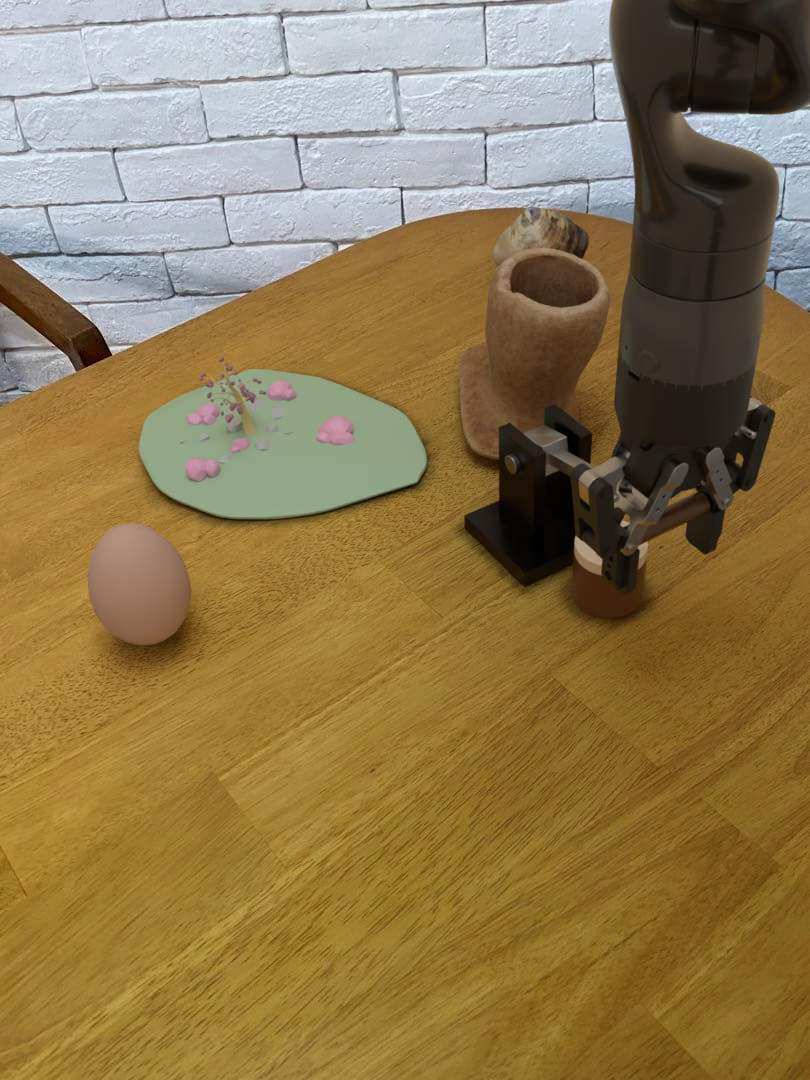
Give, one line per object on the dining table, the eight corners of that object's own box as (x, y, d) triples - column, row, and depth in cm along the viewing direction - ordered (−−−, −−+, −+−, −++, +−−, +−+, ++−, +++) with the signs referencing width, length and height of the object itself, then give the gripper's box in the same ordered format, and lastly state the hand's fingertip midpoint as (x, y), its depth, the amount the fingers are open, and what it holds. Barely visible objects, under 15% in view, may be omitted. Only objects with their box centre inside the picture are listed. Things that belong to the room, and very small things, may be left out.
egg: (111, 605, 83) (78, 503, 77) (203, 595, 83) (178, 493, 77) (100, 674, 78) (64, 570, 72) (199, 663, 78) (171, 559, 72)
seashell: (495, 297, 114) (494, 223, 108) (492, 269, 118) (491, 197, 113) (590, 292, 113) (594, 217, 108) (584, 265, 117) (587, 192, 112)
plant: (442, 379, 103) (438, 290, 97) (417, 526, 88) (411, 432, 82) (177, 375, 106) (158, 289, 100) (109, 517, 91) (81, 425, 85)
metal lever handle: (711, 522, 72) (710, 489, 71) (637, 558, 70) (635, 525, 69) (568, 443, 84) (565, 414, 82) (500, 472, 82) (497, 443, 80)
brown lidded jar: (657, 600, 80) (663, 547, 77) (601, 628, 78) (605, 576, 75) (612, 561, 83) (617, 509, 80) (557, 587, 82) (559, 535, 78)
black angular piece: (622, 540, 85) (631, 435, 79) (524, 587, 82) (526, 481, 75) (558, 486, 90) (562, 383, 84) (464, 528, 87) (460, 424, 81)
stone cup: (607, 470, 92) (619, 306, 82) (460, 474, 92) (455, 312, 82) (589, 368, 103) (598, 213, 93) (459, 372, 104) (454, 219, 94)
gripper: (738, 277, 67) (705, 495, 78) (541, 354, 62) (535, 576, 73) (834, 331, 62) (784, 555, 73) (629, 419, 57) (608, 646, 68)
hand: (660, 565), depth 73 cm, fingers closed on metal lever handle, 6 cm apart
